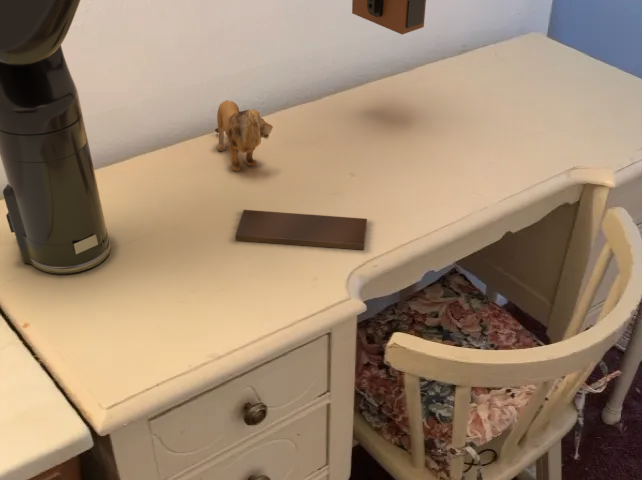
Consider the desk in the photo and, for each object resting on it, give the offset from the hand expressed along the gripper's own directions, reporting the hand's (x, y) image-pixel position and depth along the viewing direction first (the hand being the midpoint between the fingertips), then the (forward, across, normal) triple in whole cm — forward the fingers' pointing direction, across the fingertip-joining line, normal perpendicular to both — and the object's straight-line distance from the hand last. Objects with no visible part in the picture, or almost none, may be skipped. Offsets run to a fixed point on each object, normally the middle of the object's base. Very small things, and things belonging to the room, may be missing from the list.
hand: (388, 10), depth 118 cm
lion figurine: (+17, -24, +5) cm, 29 cm away
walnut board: (+16, -30, -15) cm, 37 cm away
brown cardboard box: (+1, 0, 0) cm, 1 cm away
